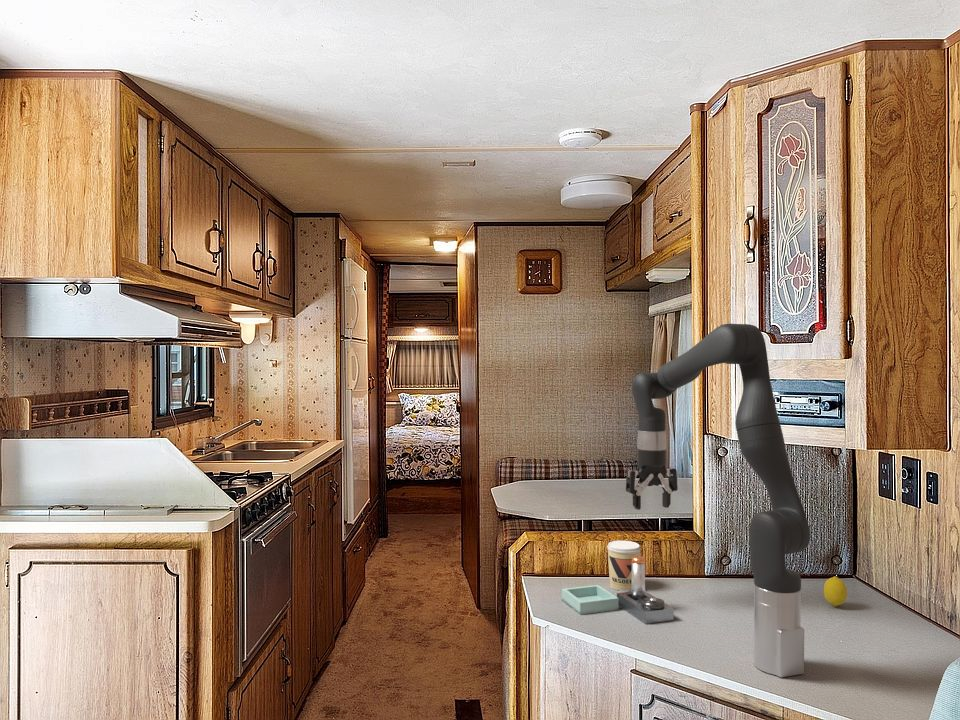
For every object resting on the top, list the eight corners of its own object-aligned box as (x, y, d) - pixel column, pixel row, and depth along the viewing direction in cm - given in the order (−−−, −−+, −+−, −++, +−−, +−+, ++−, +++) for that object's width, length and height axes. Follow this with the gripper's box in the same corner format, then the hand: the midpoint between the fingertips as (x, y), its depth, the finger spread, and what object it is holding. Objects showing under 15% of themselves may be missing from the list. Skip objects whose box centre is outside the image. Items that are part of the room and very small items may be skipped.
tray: (618, 609, 182) (618, 598, 182) (580, 614, 178) (580, 602, 178) (598, 595, 192) (598, 584, 192) (561, 600, 189) (561, 588, 189)
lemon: (841, 603, 187) (842, 573, 187) (850, 611, 181) (850, 580, 181) (820, 602, 188) (820, 572, 187) (828, 610, 182) (828, 579, 182)
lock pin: (647, 609, 182) (647, 559, 182) (635, 611, 181) (636, 560, 181) (640, 605, 185) (640, 555, 185) (628, 606, 184) (629, 556, 184)
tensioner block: (673, 620, 175) (673, 601, 175) (645, 624, 172) (645, 604, 172) (643, 601, 188) (643, 583, 188) (616, 604, 185) (616, 586, 185)
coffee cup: (605, 590, 197) (605, 547, 196) (609, 579, 206) (609, 539, 205) (639, 593, 194) (639, 550, 194) (641, 583, 203) (641, 541, 203)
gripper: (635, 450, 181) (635, 512, 181) (683, 448, 185) (683, 509, 186) (621, 446, 188) (620, 507, 189) (667, 444, 193) (667, 503, 193)
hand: (651, 508), depth 187 cm, fingers open, 8 cm apart
